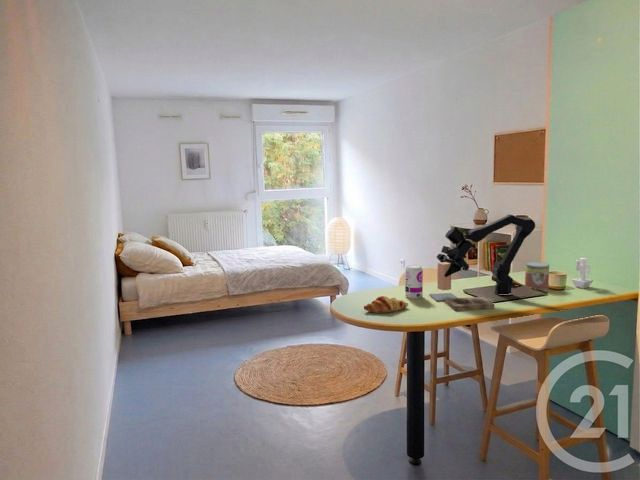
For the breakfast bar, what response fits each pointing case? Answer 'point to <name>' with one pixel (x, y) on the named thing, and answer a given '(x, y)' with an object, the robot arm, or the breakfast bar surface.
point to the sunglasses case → (512, 282)
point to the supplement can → (413, 281)
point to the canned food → (537, 275)
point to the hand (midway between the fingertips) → (442, 275)
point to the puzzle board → (469, 303)
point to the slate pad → (442, 296)
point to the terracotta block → (443, 281)
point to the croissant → (385, 305)
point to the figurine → (582, 274)
